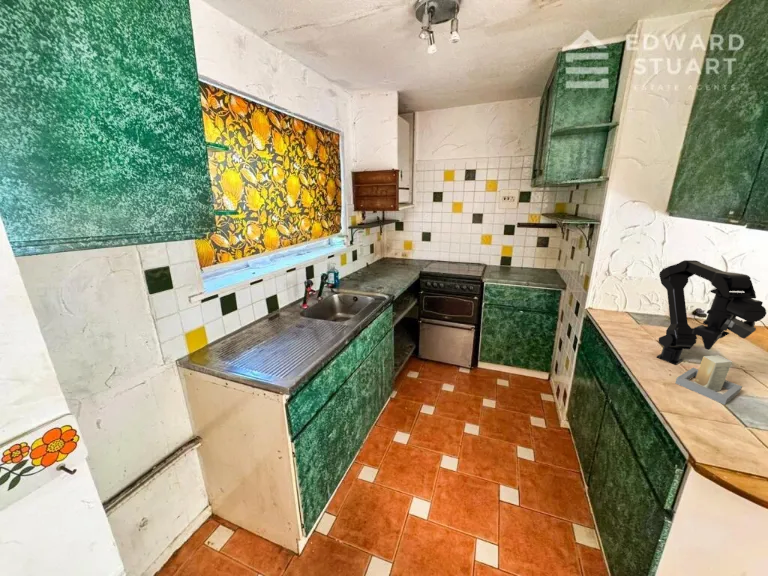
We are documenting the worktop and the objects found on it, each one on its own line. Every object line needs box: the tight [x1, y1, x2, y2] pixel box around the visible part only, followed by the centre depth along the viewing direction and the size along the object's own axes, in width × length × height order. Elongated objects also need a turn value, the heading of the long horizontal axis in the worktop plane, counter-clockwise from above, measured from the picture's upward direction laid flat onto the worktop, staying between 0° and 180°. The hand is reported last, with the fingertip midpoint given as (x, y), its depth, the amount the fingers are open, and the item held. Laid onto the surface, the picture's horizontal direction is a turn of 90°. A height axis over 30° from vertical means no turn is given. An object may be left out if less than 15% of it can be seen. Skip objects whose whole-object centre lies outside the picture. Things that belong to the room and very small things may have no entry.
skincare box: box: [693, 354, 733, 392], centre depth 107 cm, size 6×4×12 cm
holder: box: [675, 367, 743, 405], centre depth 109 cm, size 13×13×2 cm
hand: (707, 348), depth 109 cm, fingers closed
